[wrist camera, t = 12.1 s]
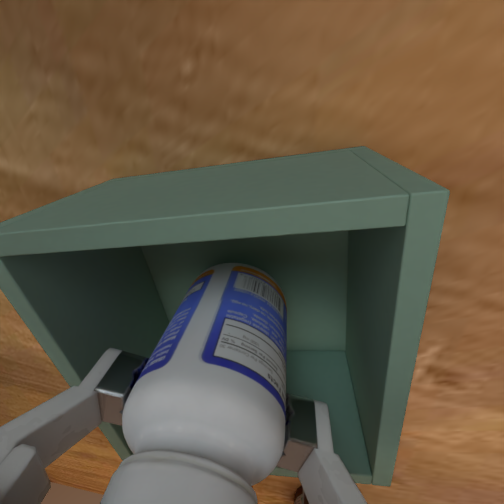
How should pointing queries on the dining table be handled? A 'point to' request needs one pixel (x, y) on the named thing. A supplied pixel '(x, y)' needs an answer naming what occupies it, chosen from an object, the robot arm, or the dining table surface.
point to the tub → (255, 254)
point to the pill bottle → (209, 396)
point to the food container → (300, 496)
